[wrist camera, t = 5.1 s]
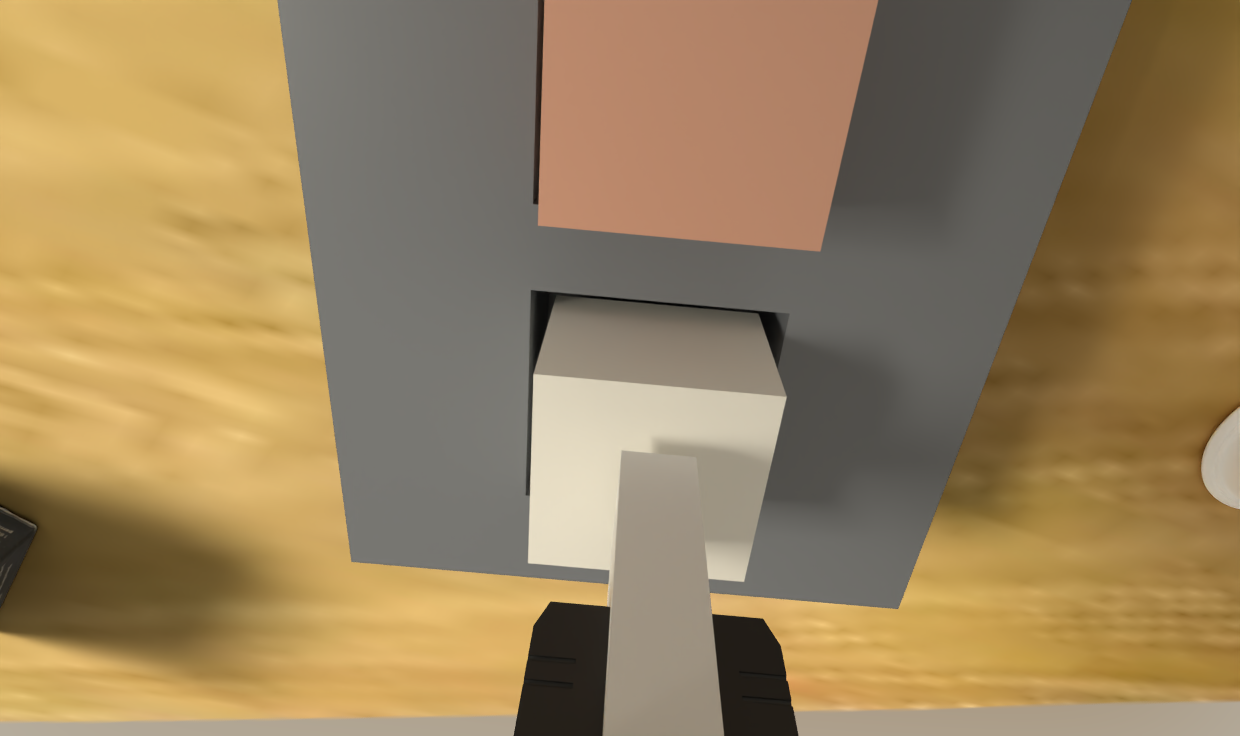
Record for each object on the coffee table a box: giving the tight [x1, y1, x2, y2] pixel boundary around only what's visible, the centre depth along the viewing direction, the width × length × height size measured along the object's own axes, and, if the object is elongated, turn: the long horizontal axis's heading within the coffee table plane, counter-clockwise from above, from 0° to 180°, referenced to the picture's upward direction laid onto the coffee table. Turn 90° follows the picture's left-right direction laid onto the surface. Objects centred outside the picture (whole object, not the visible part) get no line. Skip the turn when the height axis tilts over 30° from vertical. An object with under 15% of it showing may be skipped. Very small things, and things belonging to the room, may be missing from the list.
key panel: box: [278, 0, 1132, 609], centre depth 16 cm, size 16×28×5 cm, turn 175°
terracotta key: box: [538, 0, 878, 252], centre depth 13 cm, size 5×5×4 cm
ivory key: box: [528, 295, 787, 582], centre depth 17 cm, size 5×5×4 cm
